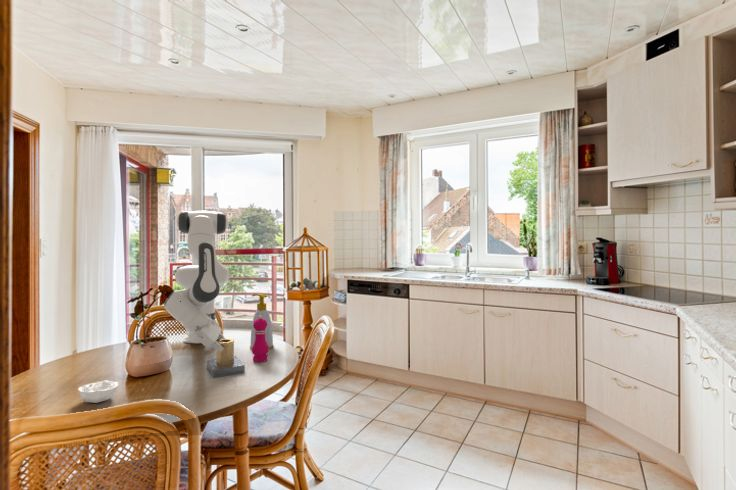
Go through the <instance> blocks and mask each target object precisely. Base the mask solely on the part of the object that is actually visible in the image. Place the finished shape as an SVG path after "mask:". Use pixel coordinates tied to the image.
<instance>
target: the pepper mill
mask: <svg viewBox="0 0 736 490" xmlns="http://www.w3.org/2000/svg"><path fill="white" fill-rule="evenodd" d="M258 318H259V319H256V320H255V321H254V323H253V327H254V328H255V330H254V331H255V332H254V333H255V336H256V337H255V342H254V345H253V347H252V349H251V353H252V355H253V356H252V361H253V362H254V363H263V362H264V363H265V362H266V361H268V355H267V354H268V353H269V350H270V349H269V348H268V345H267V342H266V340H265V333H266V329H265V328H266V327H267V321H266V320H265V319H262V316H261V315H259V316H258Z"/></svg>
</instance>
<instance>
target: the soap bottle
mask: <svg viewBox="0 0 736 490" xmlns="http://www.w3.org/2000/svg"><path fill="white" fill-rule="evenodd" d="M251 296H252V297H256V296H258V297H259V302H258V303H256V311H255V312H254V315H253V318H252V322H251V323H252V324H251V331H250V345H249V348H250V350H252V347H253V345H254V342H255V337H256V336H255V333H254V332H255V331H254V330H255V328H254V327H253V323H254V321H255V320H256V319H259V318H258V316H259V315H261V316H262V319H265V320H266V321H267V327H266V328H265V329H266V333H265V340H266V342H267V345H268V348H269V350H271V349H272V347H273V348H274V343H273V342H274V339H273V337H274V336H273V327H272V321H271V316H270V314H269V311H268V310H267V302H265V298H268V295H267V294H264V293H255V294H252V295H251ZM270 348H271V349H270Z"/></svg>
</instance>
